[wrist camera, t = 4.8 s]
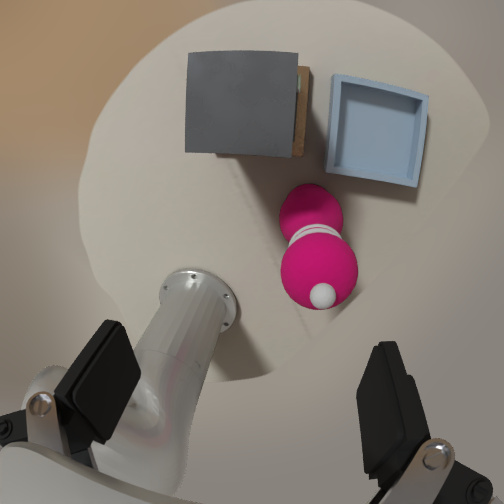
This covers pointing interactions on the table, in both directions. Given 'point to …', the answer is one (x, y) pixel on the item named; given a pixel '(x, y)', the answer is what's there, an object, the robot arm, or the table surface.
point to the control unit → (246, 103)
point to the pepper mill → (315, 249)
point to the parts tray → (375, 130)
